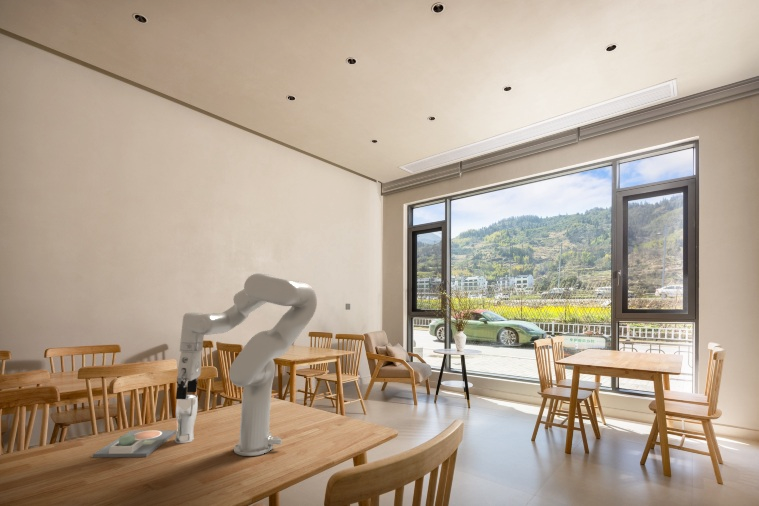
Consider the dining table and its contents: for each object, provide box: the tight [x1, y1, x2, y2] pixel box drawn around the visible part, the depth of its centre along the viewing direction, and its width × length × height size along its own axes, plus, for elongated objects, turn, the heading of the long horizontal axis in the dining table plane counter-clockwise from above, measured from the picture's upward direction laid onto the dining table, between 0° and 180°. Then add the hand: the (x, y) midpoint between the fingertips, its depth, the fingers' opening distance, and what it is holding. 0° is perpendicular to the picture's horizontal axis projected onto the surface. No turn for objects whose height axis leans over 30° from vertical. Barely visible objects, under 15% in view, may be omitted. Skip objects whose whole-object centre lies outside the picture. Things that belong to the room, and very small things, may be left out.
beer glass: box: [174, 394, 199, 444], centre depth 140 cm, size 7×7×15 cm
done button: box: [118, 434, 135, 446], centre depth 127 cm, size 4×4×2 cm
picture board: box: [92, 429, 177, 458], centre depth 134 cm, size 16×22×3 cm
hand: (186, 395), depth 141 cm, fingers open, 9 cm apart
